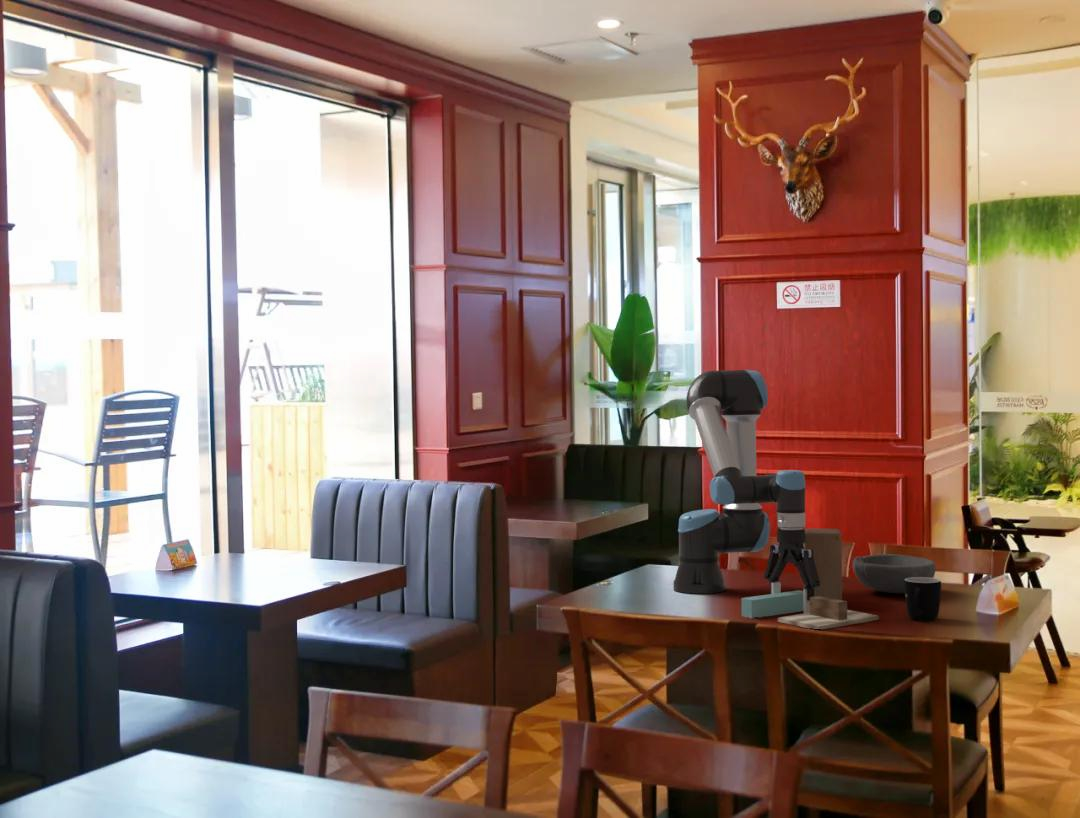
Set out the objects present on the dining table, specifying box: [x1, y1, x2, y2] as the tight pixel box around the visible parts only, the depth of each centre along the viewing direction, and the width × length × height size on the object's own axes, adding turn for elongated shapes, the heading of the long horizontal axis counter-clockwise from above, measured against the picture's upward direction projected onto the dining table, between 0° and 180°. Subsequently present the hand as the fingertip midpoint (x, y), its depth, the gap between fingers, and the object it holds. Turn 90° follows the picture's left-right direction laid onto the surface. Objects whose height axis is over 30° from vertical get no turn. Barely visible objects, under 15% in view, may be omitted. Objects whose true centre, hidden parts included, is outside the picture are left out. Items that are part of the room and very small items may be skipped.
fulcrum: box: [777, 596, 880, 630], centre depth 322 cm, size 14×22×6 cm, turn 124°
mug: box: [904, 577, 942, 622], centre depth 321 cm, size 12×9×10 cm
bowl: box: [851, 553, 937, 595], centre depth 361 cm, size 23×22×10 cm
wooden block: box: [803, 528, 843, 601], centre depth 348 cm, size 10×10×20 cm
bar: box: [740, 590, 804, 619], centre depth 334 cm, size 4×20×5 cm, turn 121°
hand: (791, 609), depth 337 cm, fingers open, 11 cm apart
